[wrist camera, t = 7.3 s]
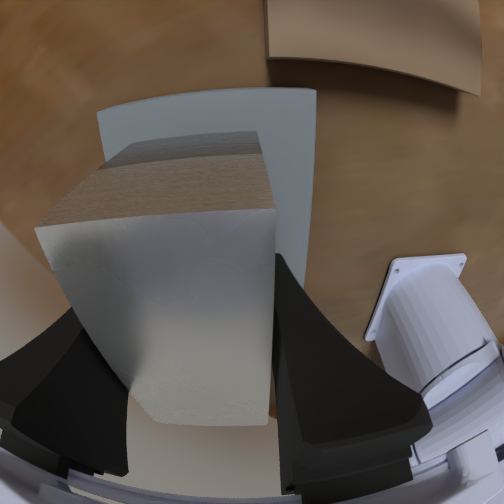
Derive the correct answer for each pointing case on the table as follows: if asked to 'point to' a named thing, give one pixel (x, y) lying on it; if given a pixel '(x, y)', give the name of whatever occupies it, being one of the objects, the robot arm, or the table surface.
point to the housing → (176, 273)
